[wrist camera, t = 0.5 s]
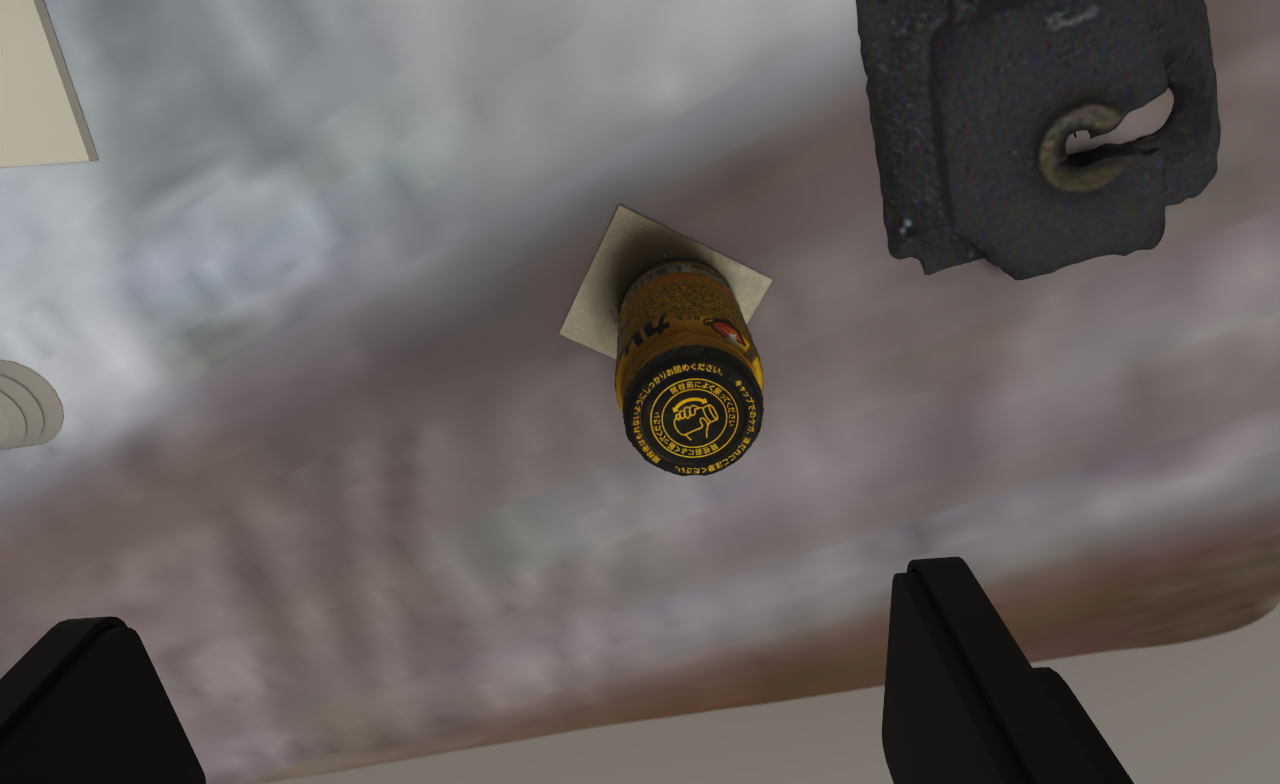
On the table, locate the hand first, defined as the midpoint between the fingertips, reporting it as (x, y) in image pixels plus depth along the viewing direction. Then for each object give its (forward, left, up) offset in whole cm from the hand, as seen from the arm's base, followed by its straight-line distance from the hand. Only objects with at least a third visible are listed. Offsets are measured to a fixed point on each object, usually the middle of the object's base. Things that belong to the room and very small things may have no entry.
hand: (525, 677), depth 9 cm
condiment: (+5, +2, -30) cm, 30 cm away
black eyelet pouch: (-7, +19, -30) cm, 37 cm away
